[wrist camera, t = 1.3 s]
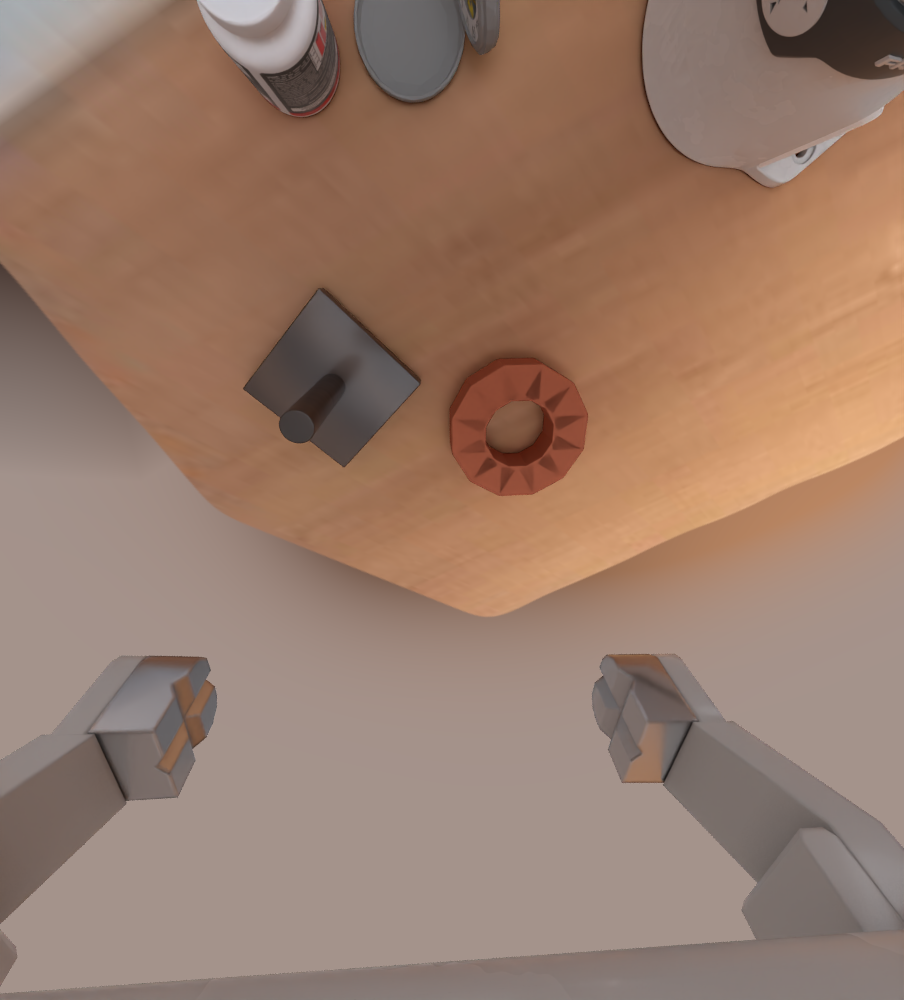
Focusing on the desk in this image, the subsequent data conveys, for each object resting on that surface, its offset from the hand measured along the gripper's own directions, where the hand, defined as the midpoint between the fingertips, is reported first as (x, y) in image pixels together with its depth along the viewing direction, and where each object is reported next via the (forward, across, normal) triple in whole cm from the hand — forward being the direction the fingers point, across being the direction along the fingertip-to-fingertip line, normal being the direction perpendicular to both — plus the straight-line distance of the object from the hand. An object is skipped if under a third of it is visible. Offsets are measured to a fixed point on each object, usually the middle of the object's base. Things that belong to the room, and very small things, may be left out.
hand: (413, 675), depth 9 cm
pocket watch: (+30, 0, -22) cm, 37 cm away
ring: (+30, -9, +3) cm, 32 cm away
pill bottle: (+30, +8, -19) cm, 37 cm away
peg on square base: (+30, +7, 0) cm, 31 cm away
